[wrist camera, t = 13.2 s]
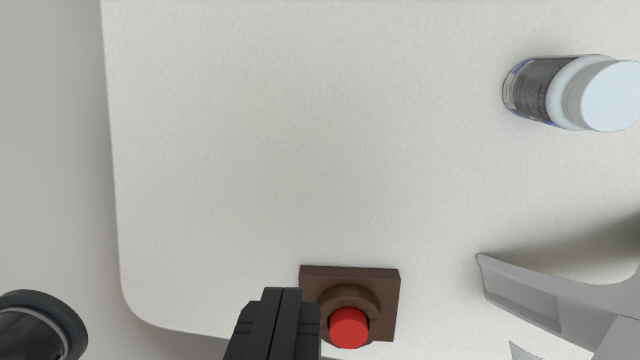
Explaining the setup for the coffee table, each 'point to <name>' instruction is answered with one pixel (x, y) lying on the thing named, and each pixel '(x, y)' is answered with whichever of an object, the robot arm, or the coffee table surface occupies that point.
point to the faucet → (568, 308)
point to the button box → (354, 296)
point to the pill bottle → (576, 92)
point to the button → (348, 327)
